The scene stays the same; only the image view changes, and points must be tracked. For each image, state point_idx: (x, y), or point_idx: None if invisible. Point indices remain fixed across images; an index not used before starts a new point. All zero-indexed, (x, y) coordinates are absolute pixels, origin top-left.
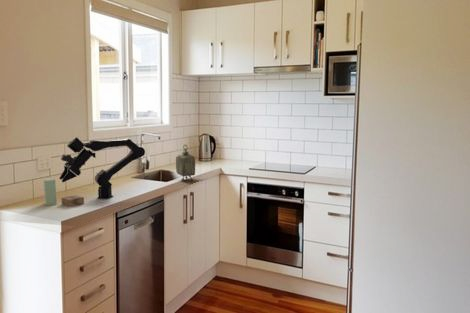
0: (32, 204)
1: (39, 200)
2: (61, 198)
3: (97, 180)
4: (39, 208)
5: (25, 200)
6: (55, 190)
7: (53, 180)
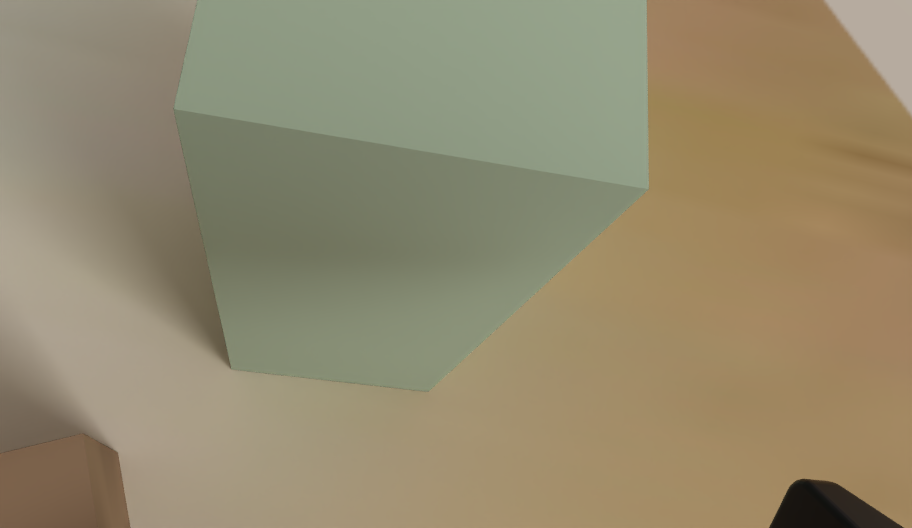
0: None
1: (739, 200)
2: (86, 436)
3: None
4: (98, 40)
5: (836, 45)
6: (213, 270)
7: (193, 47)
